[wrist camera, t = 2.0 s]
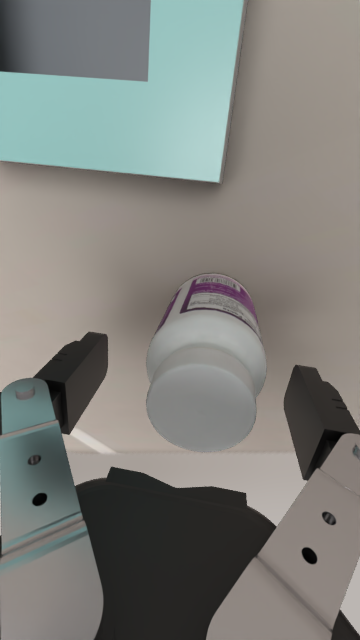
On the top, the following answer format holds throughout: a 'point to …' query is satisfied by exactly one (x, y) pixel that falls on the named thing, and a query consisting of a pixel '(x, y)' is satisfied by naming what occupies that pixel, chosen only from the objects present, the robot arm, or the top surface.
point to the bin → (120, 84)
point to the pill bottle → (206, 366)
